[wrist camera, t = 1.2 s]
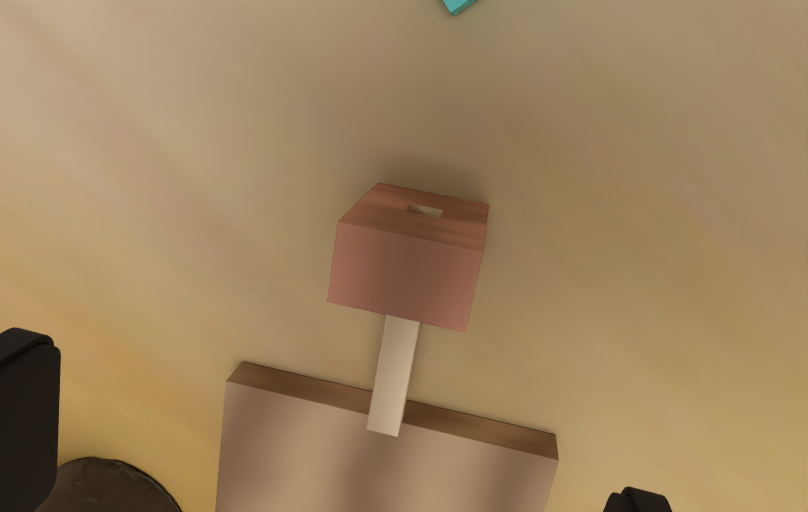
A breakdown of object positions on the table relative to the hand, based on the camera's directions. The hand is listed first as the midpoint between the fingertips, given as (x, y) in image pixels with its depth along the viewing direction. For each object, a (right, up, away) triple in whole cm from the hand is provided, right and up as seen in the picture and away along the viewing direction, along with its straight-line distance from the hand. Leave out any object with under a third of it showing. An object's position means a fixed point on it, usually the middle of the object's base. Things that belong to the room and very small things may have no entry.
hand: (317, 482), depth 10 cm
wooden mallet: (+2, +2, +19) cm, 19 cm away
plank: (0, -9, +22) cm, 24 cm away
